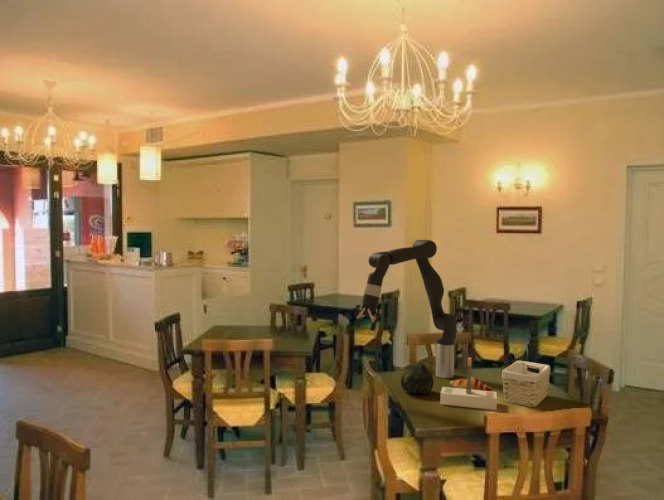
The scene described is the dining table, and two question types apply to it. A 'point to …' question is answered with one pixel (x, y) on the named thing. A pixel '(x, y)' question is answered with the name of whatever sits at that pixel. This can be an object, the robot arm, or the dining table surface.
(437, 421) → the dining table surface
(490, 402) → the switch block
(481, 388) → the croissant
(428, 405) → the dining table surface
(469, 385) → the lever
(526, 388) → the storage basket
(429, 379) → the squash
